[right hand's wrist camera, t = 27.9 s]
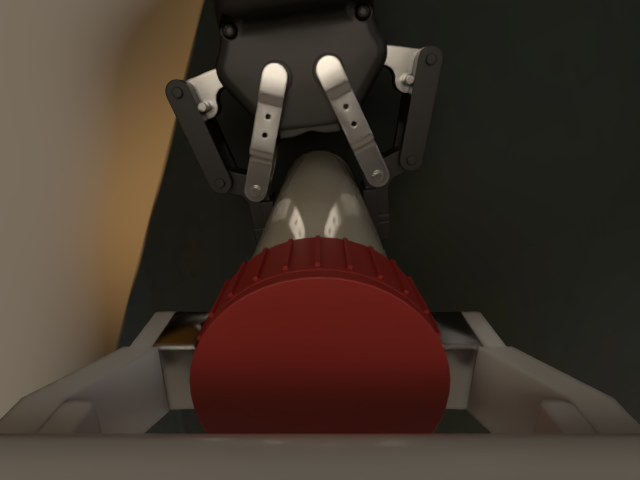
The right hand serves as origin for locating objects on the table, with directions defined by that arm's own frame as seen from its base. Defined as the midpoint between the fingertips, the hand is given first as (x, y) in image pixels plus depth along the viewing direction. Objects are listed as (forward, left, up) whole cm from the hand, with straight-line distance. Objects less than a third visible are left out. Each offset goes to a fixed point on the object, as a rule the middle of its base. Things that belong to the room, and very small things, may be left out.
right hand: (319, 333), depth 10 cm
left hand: (-2, -2, -12) cm, 13 cm away
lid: (0, 0, +2) cm, 2 cm away
